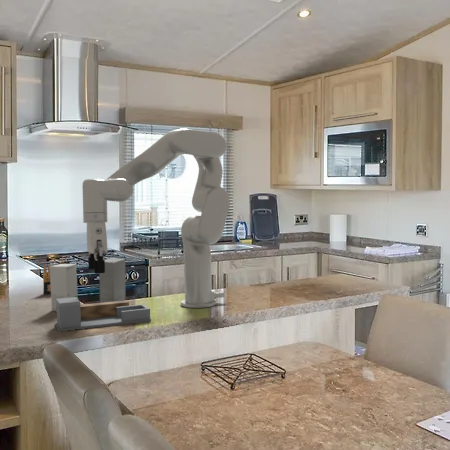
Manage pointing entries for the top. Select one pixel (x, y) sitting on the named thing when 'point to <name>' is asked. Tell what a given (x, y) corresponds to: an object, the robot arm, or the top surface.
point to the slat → (101, 309)
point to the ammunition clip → (47, 281)
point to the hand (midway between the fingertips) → (96, 271)
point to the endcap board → (72, 318)
